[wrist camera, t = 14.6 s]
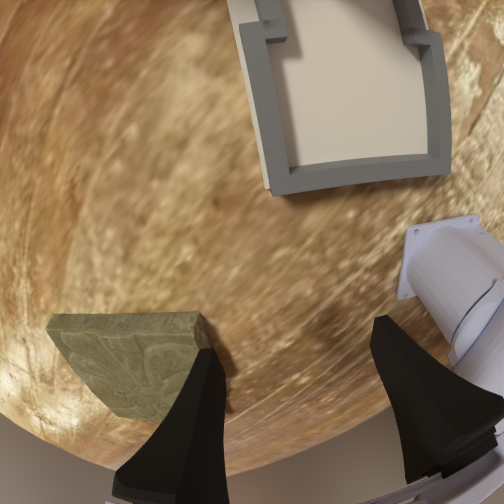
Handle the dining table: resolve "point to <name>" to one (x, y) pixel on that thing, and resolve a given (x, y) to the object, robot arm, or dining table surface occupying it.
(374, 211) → the dining table surface
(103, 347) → the olive stone flat slab
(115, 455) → the dining table surface
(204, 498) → the robot arm
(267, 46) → the grey flat framed piece
